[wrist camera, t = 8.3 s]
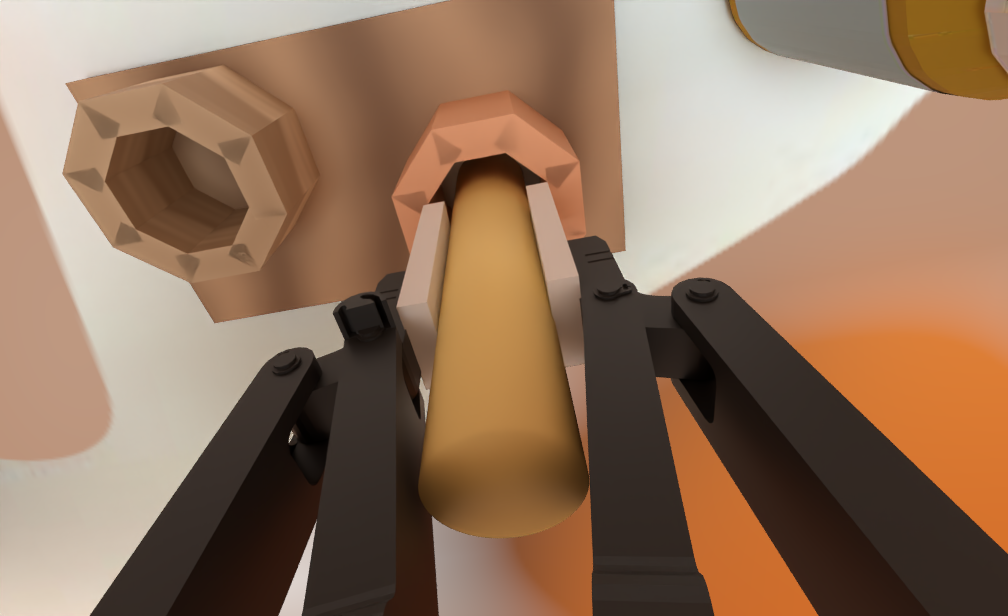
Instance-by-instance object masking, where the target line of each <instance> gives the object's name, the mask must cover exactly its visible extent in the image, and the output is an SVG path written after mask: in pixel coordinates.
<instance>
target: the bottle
mask: <svg viewBox="0 0 1008 616" xmlns="http://www.w3.org/2000/svg"><path fill="white" fill-rule="evenodd" d="M729 3H730V7H731V11H732V15H733V17H734V19H735V22H736V23H737V24H738V26H739V27H740V29H741V30H742V32H743V33H744V35H745V36H746V37H747V38H748V39H749V40H750V41H751V42H753V43H754V44H756V45H758V46H759V47H761V48H762V49H764V50H766V51H769V52H772V53H774V54H777V55H780V56H784V57H788V58H793V59H797V60H801V61H806V62H810V63H814V64H818V65H823V66H827V67H831V68H835V69H840V70H844V71H848V72H852V73H857V74H861V75H865V76H869V77H874V78H878V79H882V80H886V81H891V82H895V83H899V84H903V85H908V86H912V87H916V88H920V89H925V90H929V91H933V92H937V93H942V94H949V95H956V96H963V97H969V98H976V99H983V100H1002V99H1008V0H729Z"/></svg>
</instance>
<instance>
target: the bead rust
mask: <svg viewBox="0 0 1008 616" xmlns="http://www.w3.org/2000/svg"><path fill="white" fill-rule="evenodd" d="M502 153H506V154H508V155H509V156H511V157H512V158H514V159H515V160H517V161H518V162H519V163H521V164H522V165H524V166H525V167H527V168H528V169H530V170H531V171H532V172H534V173H535V174H537V175H538V176H540V181H541V183H545V182H548V185H549V188H550V191H551V194H552V197H553V200H554V203H555V206H556V209H557V212H558V215H559V218H560V221H561V224H562V227H563V230H564V233H565V236H566V239H567V240H573V239H578V238H583V237H584V236H585V235H586V225H585V214H584V204H583V193H582V183H581V172H580V161H579V160H578V158H577V156H576V154H575V152H574V151H573V149H572V147H571V145H570V143H569V142H568V140H567V138H566V136H565V134H564V133H563V131H562V130H561V129H560V128H558V127H557V126H556V125H554V124H553V123H552V122H550V121H549V120H547V119H546V118H545V117H543V116H542V115H541V114H539V113H538V112H537V111H535V110H534V109H533V108H531V107H530V106H529V105H527V104H526V103H525V102H523V101H522V100H521V99H519V98H518V97H517V96H515V95H514V94H513V93H511V92H510V91H509V90H506V91H501V92H496V93H491V94H486V95H481V96H476V97H471V98H466V99H461V100H456V101H451V102H446V103H441V104H440V105H439V107H438V109H437V110H436V112H435V114H434V115H433V117H432V119H431V120H430V122H429V124H428V126H427V127H426V129H425V131H424V132H423V134H422V136H421V138H420V139H419V141H418V143H417V144H416V146H415V148H414V150H413V151H412V153H411V155H410V156H409V158H408V160H407V162H406V164H405V166H404V169H403V171H402V174H401V176H400V178H399V181H398V183H397V185H396V188H395V190H394V192H393V195H392V200H393V203H394V206H395V209H396V213H397V216H398V219H399V222H400V225H401V228H402V231H403V234H404V237H405V241H406V244H407V247H408V250H409V253H410V254H411V250H412V246H413V242H414V238H415V235H416V231H417V227H418V223H419V219H420V216H421V212H422V208H423V205H427V204H433V203H438V202H443V201H444V202H445V206H446V210H447V214H448V218H449V222H450V226H451V221H452V213H453V209H452V208H451V207H449V206H447V203H446V199H445V195H444V191H443V188H442V184H441V183H442V181H443V180H444V178H445V177H446V175H447V173H448V172H449V170H450V169H451V167H452V166H453V164H454V163H456V162H461V161H466V160H471V159H476V158H482V157H487V156H492V155H497V154H502Z"/></svg>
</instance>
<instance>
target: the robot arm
mask: <svg viewBox="0 0 1008 616" xmlns="http://www.w3.org/2000/svg"><path fill="white" fill-rule="evenodd" d="M526 190H527V197H528V203H529V209H530V215H531V219H532V224H533V229H534V233H535V238H536V243H537V247H538V252H539V257H540V261H541V266H542V271H543V275H544V280H545V285H546V289H547V294H548V299H549V304H550V308H551V313H552V316H553V318H554V321H555V324H556V328H557V333H558V337H559V342H560V346H561V351H562V356H563V360H564V365H565V367H569V366H576V365H582V364H585V381H586V405H587V428H588V452H589V475H590V498H591V521H592V546H593V573H592V606H593V616H714V613H713V608H712V604H711V600H710V596H709V592H708V588H707V585H706V582H705V579H704V577H703V575H702V574H700V573H699V572H698V569H697V566H696V562H695V558H694V554H693V549H692V545H691V540H690V535H689V530H688V526H687V521H686V516H685V512H684V507H683V502H682V498H681V493H680V488H679V484H678V479H677V474H676V470H675V465H674V460H673V456H672V451H671V446H670V442H669V437H668V432H667V428H666V423H665V418H664V414H663V409H662V405H661V400H660V395H659V390H658V385H657V381H656V377H666V378H671V381H672V383H673V385H674V387H675V388H676V390H677V392H678V393H679V395H680V396H681V398H682V400H683V401H684V403H685V404H686V406H687V408H688V409H689V411H690V412H691V414H692V415H693V417H694V419H695V420H696V422H697V423H698V425H699V427H700V428H701V430H702V431H703V433H704V435H705V436H706V438H707V439H708V441H709V442H710V444H711V445H712V447H713V449H714V450H715V452H716V454H717V455H718V457H719V458H720V460H721V462H722V463H723V465H724V466H725V468H726V469H727V471H728V472H729V474H730V476H731V477H732V479H733V480H734V482H735V484H736V485H737V487H738V488H739V490H740V492H741V493H742V495H743V496H744V498H745V500H746V501H747V503H748V504H749V506H750V507H751V509H752V511H753V512H754V514H755V515H756V517H757V519H758V520H759V522H760V523H761V525H762V527H763V528H764V530H765V531H766V533H767V535H768V536H769V538H770V539H771V541H772V542H773V544H774V546H775V547H776V549H777V550H778V552H779V553H780V555H781V557H782V558H783V560H784V561H785V563H786V565H787V566H788V568H789V569H790V571H791V573H792V574H793V576H794V577H795V579H796V580H797V582H798V584H799V585H800V587H801V588H802V590H803V591H804V593H805V595H806V596H807V598H808V600H809V601H810V603H811V604H812V606H813V607H814V609H815V611H816V612H817V614H818V615H819V616H1008V554H1007V553H1006V552H1005V551H1004V550H1003V549H1002V548H1001V547H1000V546H999V545H998V544H997V543H996V542H995V541H994V540H993V539H992V538H990V537H989V536H988V535H987V534H986V533H985V532H984V531H983V530H982V529H981V528H980V527H979V526H978V525H977V524H976V523H975V522H974V521H973V520H972V519H971V518H970V517H969V516H968V515H967V514H966V513H965V512H963V510H961V509H960V508H959V507H958V506H957V505H956V504H955V503H954V502H953V501H952V500H951V499H950V498H949V497H948V496H947V495H946V494H945V493H944V492H943V491H942V490H941V489H940V488H939V487H937V486H936V485H935V484H934V483H933V482H932V481H931V480H930V479H929V478H928V477H927V476H926V475H925V474H924V473H923V472H922V471H921V470H920V469H919V468H918V467H917V466H916V465H915V464H914V463H913V462H911V460H909V459H908V458H907V457H906V456H905V455H904V454H903V453H902V452H901V451H900V450H899V449H898V448H897V447H896V446H895V445H894V444H893V443H892V442H891V441H890V440H889V439H888V438H887V437H886V436H884V434H882V433H881V432H880V431H879V430H878V429H877V428H876V427H875V426H874V425H873V424H872V423H871V422H870V421H869V420H868V419H867V418H866V417H864V415H863V414H862V413H861V412H860V411H858V410H857V409H856V408H855V407H854V406H853V405H852V404H851V403H850V402H849V401H848V400H847V399H846V398H845V397H844V396H843V395H842V394H841V393H840V392H839V391H838V390H836V388H835V387H834V386H833V385H831V383H829V382H828V381H827V380H826V379H825V378H824V377H823V376H822V375H821V374H820V373H819V372H818V371H817V370H816V369H815V368H814V367H813V366H812V365H811V364H810V363H809V362H808V361H807V360H805V358H803V357H802V356H801V355H800V354H799V353H798V352H797V351H796V350H795V349H794V348H793V347H792V346H791V345H790V344H789V343H788V342H787V341H786V340H785V339H784V338H783V337H782V336H780V334H778V333H777V332H776V331H775V330H774V329H773V328H772V327H771V326H770V325H769V324H768V323H767V322H766V321H765V320H764V319H763V318H762V317H761V316H760V315H759V314H758V313H757V312H756V311H755V310H753V308H752V307H750V306H749V305H748V304H747V303H746V302H745V301H744V300H743V299H742V298H741V297H740V296H739V295H738V294H737V293H736V292H735V291H734V290H733V289H732V288H731V287H730V286H728V285H726V284H725V283H723V282H721V281H718V280H715V279H710V278H694V279H688V280H685V281H682V282H680V283H678V284H677V285H676V286H675V287H674V288H673V290H672V294H671V296H652V295H646V294H641V293H639V292H637V289H636V287H635V285H634V284H633V283H631V282H629V281H628V280H625V279H624V277H623V275H622V273H621V271H620V269H619V267H618V265H617V263H616V261H615V259H614V257H613V255H612V253H611V252H610V249H609V247H608V245H607V242H606V241H604V240H603V239H601V238H599V237H597V236H596V235H595V236H589V237H584V238H578V239H573V240H567V239H566V236H565V233H564V230H563V227H562V224H561V221H560V218H559V215H558V212H557V209H556V206H555V203H554V200H553V197H552V194H551V191H550V188H549V185H548V182H545V183H539V184H534V185H529V186H526ZM450 229H451V226H450V222H449V218H448V214H447V210H446V206H445V202H444V201H443V202H438V203H433V204H427V205H423V208H422V212H421V216H420V219H419V223H418V227H417V231H416V235H415V238H414V242H413V246H412V250H411V254H410V257H409V261H408V265H407V269H406V271H401V272H395V273H390V274H387V275H386V276H385V277H384V278H383V279H382V280H381V281H380V282H379V283H378V284H377V287H376V290H375V292H371V291H370V292H364V293H359V294H357V295H354V296H351V297H349V298H347V299H346V300H344V301H342V302H341V303H340V304H339V305H338V306H337V307H336V308H335V310H334V311H333V315H334V317H335V319H336V322H337V324H338V326H339V328H340V330H341V333H342V335H343V337H344V339H345V341H344V348H342V349H340V350H338V351H336V352H333V353H331V354H328V355H325V356H322V357H320V358H317V359H316V357H315V355H314V354H313V352H312V350H310V349H308V348H299V347H298V348H293V349H288V350H285V351H283V352H280V353H278V354H277V355H276V356H274V357H273V358H271V359H270V360H268V362H267V363H266V364H265V365H264V366H263V367H262V368H261V370H260V371H259V372H258V374H257V375H256V377H255V378H254V380H253V381H252V383H251V384H250V385H249V387H248V388H247V390H246V391H245V393H244V394H243V395H242V397H241V398H240V400H239V401H238V403H237V404H236V406H235V407H234V408H233V410H232V411H231V413H230V414H229V416H228V417H227V419H226V420H225V421H224V423H223V424H222V426H221V427H220V429H219V430H218V432H217V433H216V434H215V436H214V437H213V439H212V440H211V442H210V443H209V445H208V446H207V447H206V449H205V450H204V452H203V453H202V455H201V456H200V457H199V459H198V460H197V462H196V463H195V465H194V466H193V468H192V469H191V470H190V472H189V473H188V475H187V476H186V478H185V479H184V481H183V482H182V483H181V485H180V486H179V488H178V489H177V491H176V492H175V494H174V495H173V496H172V498H171V499H170V501H169V502H168V504H167V505H166V507H165V508H164V509H163V511H162V512H161V514H160V515H159V517H158V518H157V520H156V521H155V522H154V524H153V525H152V527H151V528H150V530H149V531H148V532H147V534H146V535H145V537H144V538H143V540H142V541H141V543H140V544H139V545H138V547H137V548H136V550H135V551H134V553H133V554H132V556H131V557H130V558H129V560H128V561H127V563H126V564H125V566H124V567H123V569H122V570H121V571H120V573H119V574H118V576H117V577H116V579H115V580H114V582H113V583H112V584H111V586H110V587H109V589H108V590H107V592H106V593H105V594H104V596H103V597H102V599H101V600H100V602H99V603H98V605H97V606H96V607H95V609H94V610H93V612H92V613H91V615H90V616H278V615H279V613H280V610H281V608H282V605H283V603H284V600H285V598H286V595H287V593H288V590H289V588H290V585H291V583H292V580H293V578H294V575H295V573H296V570H297V568H298V565H299V563H300V560H301V558H302V555H303V553H304V550H305V548H306V545H307V542H308V540H309V538H310V535H311V533H312V530H313V528H314V525H315V523H316V520H317V523H316V529H315V536H314V542H313V549H312V555H311V562H310V568H309V575H308V581H307V588H306V594H305V600H304V607H303V612H302V616H439V614H438V613H439V612H438V598H437V584H436V569H435V555H434V541H433V525H432V515H431V514H430V513H429V512H428V511H427V510H426V508H425V507H424V505H423V503H422V502H421V499H420V496H419V490H418V483H419V474H420V466H421V459H422V451H423V443H424V435H425V427H426V424H425V409H424V400H423V397H422V395H421V392H420V389H419V385H420V378H421V377H422V380H423V382H424V385H425V388H426V390H428V389H430V387H431V379H432V371H433V363H434V356H435V348H436V340H437V332H438V324H439V316H440V308H441V300H442V292H443V284H444V276H445V268H446V260H447V253H448V245H449V237H450ZM291 430H292V432H293V434H294V435H293V437H292V439H291V441H290V442H289V436H290V433H291Z"/></svg>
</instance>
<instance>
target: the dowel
mask: <svg viewBox="0 0 1008 616" xmlns="http://www.w3.org/2000/svg"><path fill="white" fill-rule="evenodd" d="M588 488H589V474H588V470H587V465H586V460H585V456H584V451H583V447H582V442H581V438H580V433H579V428H578V424H577V419H576V415H575V410H574V406H573V401H572V397H571V392H570V387H569V383H568V378H567V374H566V370H565V365H564V360H563V356H562V351H561V346H560V342H559V337H558V333H557V328H556V324H555V321H554V318H553V316H552V313H551V308H550V304H549V299H548V294H547V289H546V285H545V280H544V275H543V271H542V266H541V261H540V257H539V252H538V247H537V243H536V238H535V233H534V229H533V224H532V219H531V215H530V209H529V203H528V197H527V192H526V187H525V182H524V178H523V173H522V170H521V168H520V166H519V164H518V163H517V162H516V160H515V159H514V158H512V157H511V156H509V155H508V154H506V153H502V154H497V155H492V156H487V157H482V158H476V159H471V160H466V161H464V162H463V163H462V165H461V167H460V169H459V171H458V175H457V181H456V189H455V197H454V205H453V213H452V221H451V229H450V237H449V245H448V253H447V260H446V268H445V276H444V284H443V292H442V300H441V308H440V316H439V324H438V332H437V340H436V348H435V356H434V363H433V371H432V379H431V387H430V395H429V403H428V411H427V419H426V427H425V435H424V443H423V451H422V459H421V466H420V474H419V483H418V490H419V496H420V499H421V502H422V503H423V505H424V507H425V508H426V510H427V511H428V512H429V513H430V514H431V515H432V516H433V517H434V518H435V519H436V520H438V521H439V522H441V523H442V524H444V525H446V526H447V527H449V528H451V529H454V530H456V531H459V532H462V533H465V534H468V535H473V536H478V537H485V538H512V537H520V536H526V535H531V534H535V533H538V532H541V531H544V530H547V529H549V528H551V527H553V526H555V525H557V524H559V523H561V522H562V521H564V520H565V519H567V518H568V517H569V516H571V515H572V514H573V513H574V512H575V511H576V510H577V509H578V508H579V506H580V505H581V504H582V502H583V501H584V499H585V497H586V495H587V492H588Z"/></svg>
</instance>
